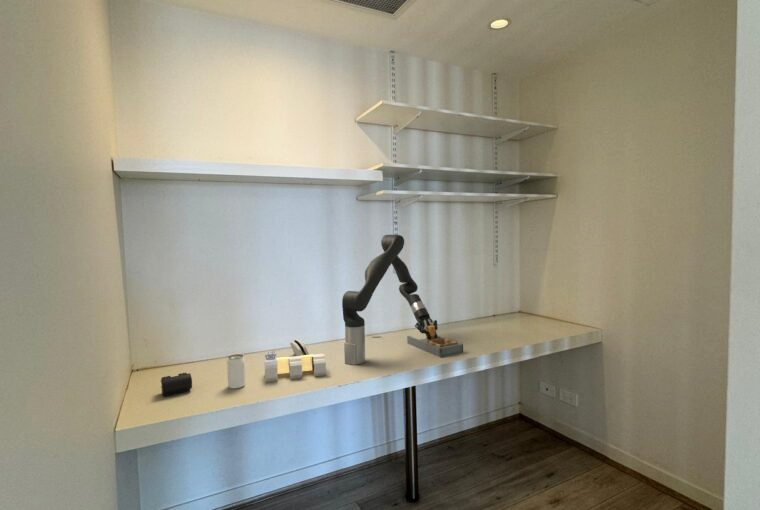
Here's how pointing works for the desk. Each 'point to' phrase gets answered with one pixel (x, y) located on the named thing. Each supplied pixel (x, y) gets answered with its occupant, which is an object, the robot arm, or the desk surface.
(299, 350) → the hinge
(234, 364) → the can
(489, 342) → the desk surface
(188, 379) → the end cap
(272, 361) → the diorama
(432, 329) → the crate
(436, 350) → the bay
